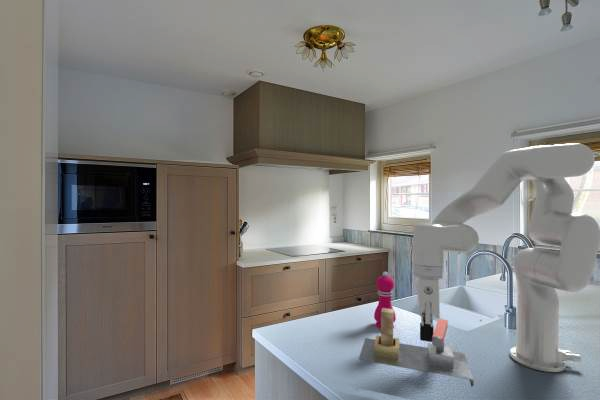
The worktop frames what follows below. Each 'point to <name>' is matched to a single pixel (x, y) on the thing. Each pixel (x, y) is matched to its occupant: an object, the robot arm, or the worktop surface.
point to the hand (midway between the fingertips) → (426, 339)
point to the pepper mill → (384, 297)
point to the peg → (387, 326)
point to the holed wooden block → (386, 348)
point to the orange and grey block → (440, 334)
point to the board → (422, 359)
